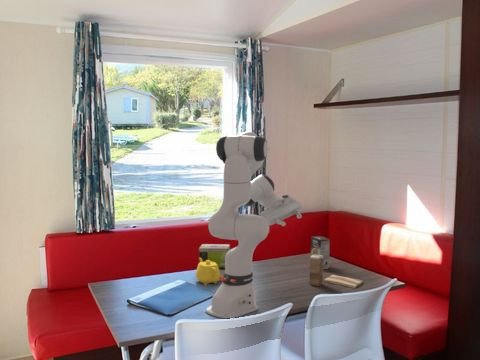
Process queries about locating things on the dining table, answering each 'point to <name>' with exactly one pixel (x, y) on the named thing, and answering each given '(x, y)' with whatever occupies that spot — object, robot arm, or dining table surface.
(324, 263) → the coffee box
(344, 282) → the beige flat slab
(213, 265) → the teapot
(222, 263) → the tea box
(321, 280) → the walnut post
